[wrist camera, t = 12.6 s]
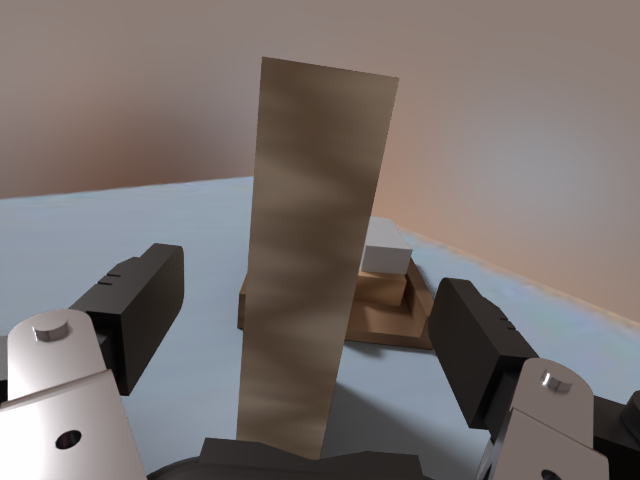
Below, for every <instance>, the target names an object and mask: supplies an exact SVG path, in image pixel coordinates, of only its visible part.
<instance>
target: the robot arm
mask: <svg viewBox="0 0 640 480" xmlns="http://www.w3.org/2000/svg"><path fill="white" fill-rule="evenodd" d="M183 299H184V253H183V248H182V247H181V246H176V245H167V244H159V243H154V244H153V245H152V246H151V247H150V248H149V249H148V250H147V251H146V252H145V253H144V254H143V255H142V256H141V257H140V258H139V257H132V258H130V259H128V260H126V261H124V262H121V263H119V264H117V265H116V266H115V267H114V268H113V269H112V270H110V271H109V272H108V273H107V276H104V277H103V278H102V279H100V280H99V281H98V284H95V285H94V286H93V287H92V288H91V289H89V290H88V291H87V292H86V293H85V294H84V295H83V296H82V297H81V298H79V299H78V300H77V301H76V302H75V303H74V304H73V305H72V306H71V307H69V308H68V309H60V310H52V311H47V312H43V313H40V314H37V315H34V316H32V317H30V318H27V319H26V320H24V321H22V322H21V323H19V324H18V325H16V326H15V327H14V328H13V329H12V330H11V331H10V333H9V335H8V336H0V480H434V479H432V478H429V477H427V476H424V475H423V473H422V469H421V466H420V462H419V458H418V455H406V454H395V453H383V452H371V451H365V452H360V453H354V454H348V455H343V456H337V457H331V458H326V459H320V460H311V459H307V458H304V457H301V456H298V455H295V454H293V453H290V452H287V451H284V450H281V449H278V448H275V447H272V446H269V445H266V444H263V443H260V442H252V441H241V440H229V439H217V438H205V441H204V444H203V447H202V450H201V453H200V456H198V457H192V458H188V459H185V460H181V461H178V462H175V463H172V464H170V465H167V466H165V467H162V468H160V469H159V470H157V471H155V472H153V473H151V474H149V475H147V476H146V475H145V471H144V468H143V465H142V462H141V459H140V456H139V453H138V450H137V447H136V444H135V441H134V438H133V434H132V431H131V428H130V425H129V422H128V419H127V416H126V413H125V410H124V407H123V404H122V400H121V397H120V395H121V396H129V395H130V393H131V391H132V390H133V388H134V386H135V385H136V383H137V382H138V380H139V378H140V377H141V375H142V373H143V372H144V370H145V368H146V367H147V365H148V363H149V362H150V360H151V358H152V357H153V355H154V353H155V352H156V350H157V348H158V347H159V345H160V343H161V342H162V340H163V338H164V337H165V335H166V333H167V332H168V330H169V328H170V327H171V325H172V323H173V322H174V320H175V318H176V317H177V315H178V313H179V312H180V309H181V307H182V303H183ZM428 336H429V339H430V341H431V344H432V346H433V348H434V350H435V353H436V355H437V357H438V359H439V362H440V364H441V366H442V368H443V371H444V373H445V375H446V377H447V380H448V382H449V384H450V386H451V389H452V391H453V393H454V395H455V398H456V400H457V402H458V404H459V407H460V409H461V411H462V413H463V416H464V418H465V420H466V422H467V424H468V427H469V428H473V429H484V430H489V432H490V434H491V436H490V439H489V441H488V443H487V445H486V448H485V451H484V454H483V457H482V459H481V462H480V465H479V468H478V471H477V474H476V477H475V480H640V390H638V391H635V392H634V393H633V395H632V396H631V398H630V399H629V401H628V402H627V404H626V405H623V404H620V403H617V402H614V401H611V400H607V399H604V398H601V397H598V396H595V395H593V392H592V390H591V388H590V386H589V385H588V384H587V383H586V382H585V381H584V380H583V379H582V378H581V377H580V376H579V375H577V374H576V373H575V372H573V371H572V370H570V369H568V368H567V367H565V366H563V365H561V364H559V363H556V362H554V361H551V360H547V359H543V358H540V357H539V356H538V355H537V353H536V352H535V351H534V350H533V349H532V347H531V346H530V345H529V344H528V342H527V341H526V340H525V339H524V338H523V336H522V335H521V334H520V333H519V332H518V331H516V328H515V327H514V325H513V324H512V323H511V322H510V321H508V318H507V317H506V316H505V314H504V313H503V312H502V311H501V310H500V308H499V307H497V306H496V305H494V304H493V303H492V302H490V301H489V300H487V299H486V298H485V297H482V295H481V294H480V293H479V292H478V290H477V289H476V288H475V287H474V285H473V284H472V283H471V282H470V281H469V280H463V279H454V278H446V277H445V278H443V279H442V280H441V282H440V284H439V287H438V290H437V294H436V297H435V300H434V303H433V307H432V310H431V313H430V317H429V320H428Z"/></svg>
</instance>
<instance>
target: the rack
mask: <svg viewBox="0 0 640 480" xmlns="http://www.w3.org/2000/svg"><path fill="white" fill-rule="evenodd" d="M404 276H405V279H406V281H407V282H406V286H405V289H404V293H403V297H402V300H401V304H400V306H393V305H384V304H376V303H368V302H359V301H353V302H352V307H351V311H350V316H349V321H348V326H347V330H346V335H345V340H351V341H360V342H369V343H378V344H386V345H395V346H404V347H413V348H422V349H431V350H432V349H433V346H432V344H431V341H430V339H429V336H428V320H429V317H430V313H431V310H432V307H433V303H434V300H433V298H432V296H431V294H430V292H429V290H428V288H427V286H426V285H425V283H424V281H423V279H422V277H421V275H420V273H419V271H418V269H417V267H416V265H415V264H414V262H413V260H412V258H410V262H409V265H408V269H407V273H406V275H405V274H404ZM246 286H247V275H246V277H245V280H244V283H243V285H242V288H241V291H240V293H239V307H238V324H237V328H244V315H245V301H246Z"/></svg>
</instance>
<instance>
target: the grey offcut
mask: <svg viewBox="0 0 640 480" xmlns="http://www.w3.org/2000/svg"><path fill="white" fill-rule="evenodd" d="M412 250H413V249H412V248H411V247H410V245H409V244H408V243H407V241H406V240H405V239H404V237H403V236H402V234H401V233H400V232H399V230H398V229H397V228H396V226H395V225H394V224H393V222H392V221H391V220H390V219H387V218H378V217H370V221H369V225H368V230H367V235H366V240H365V244H364V249H363V254H362V259H361V264H360V270H361V271H368V272H380V273H392V274H405V275H406V273H407V269H408V265H409V262H410V258H411V254H412Z"/></svg>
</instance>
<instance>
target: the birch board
mask: <svg viewBox="0 0 640 480" xmlns="http://www.w3.org/2000/svg"><path fill="white" fill-rule="evenodd" d="M398 82H399V78H397V77H390V76H383V75H377V74H371V73H365V72H358V71H352V70H346V69H339V68H333V67H326V66H320V65H313V64H307V63H301V62H294V61H288V60H281V59H275V58H268V57H262V65H261V80H260V95H259V110H258V125H257V140H256V153H255V168H254V183H253V198H252V212H251V227H250V242H249V256H248V271H247V286H246V301H245V315H244V330H243V345H242V359H241V374H240V389H239V404H238V418H237V433H236V440H241V441H252V442H260V443H263V444H266V445H269V446H272V447H275V448H278V449H281V450H284V451H287V452H290V453H293V454H295V455H298V456H301V457H304V458H307V459H311V460H319V459H320V455H321V450H322V445H323V440H324V435H325V431H326V426H327V421H328V416H329V412H330V407H331V402H332V397H333V392H334V388H335V383H336V378H337V373H338V369H339V364H340V359H341V354H342V350H343V345H344V340H345V335H346V330H347V326H348V321H349V316H350V311H351V307H352V302H353V297H354V292H355V287H356V283H357V278H358V273H359V268H360V264H361V259H362V254H363V249H364V244H365V240H366V235H367V230H368V225H369V221H370V216H371V211H372V206H373V201H374V197H375V192H376V187H377V182H378V178H379V172H380V168H381V163H382V158H383V154H384V148H385V144H386V138H387V135H388V130H389V125H390V120H391V116H392V111H393V106H394V101H395V96H396V92H397V87H398Z"/></svg>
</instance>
